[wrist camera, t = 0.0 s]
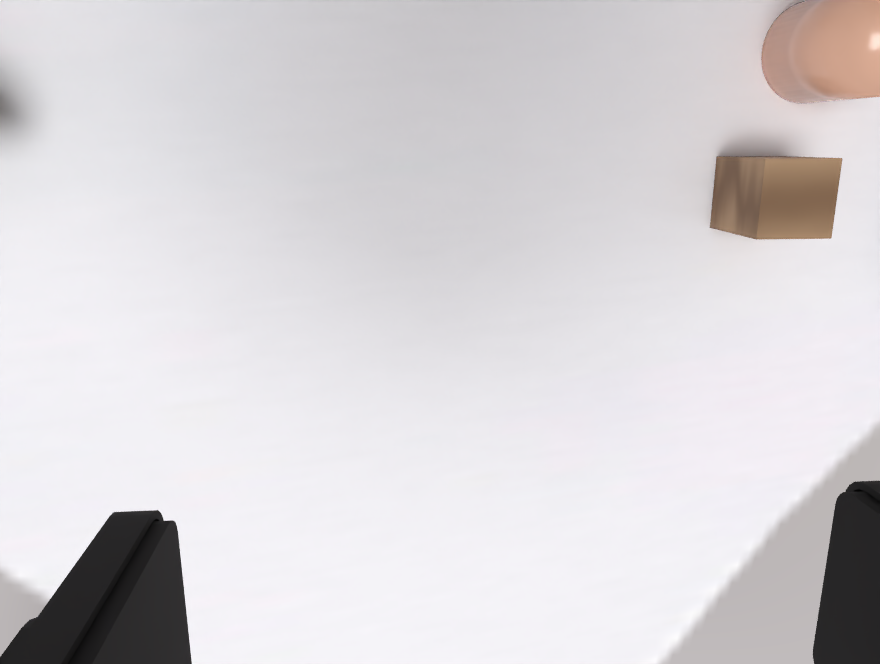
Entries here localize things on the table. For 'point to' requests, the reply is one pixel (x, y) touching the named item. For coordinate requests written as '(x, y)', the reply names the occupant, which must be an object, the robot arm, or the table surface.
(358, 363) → the table surface
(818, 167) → the walnut block
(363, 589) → the table surface
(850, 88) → the peach round domed cylinder
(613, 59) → the table surface
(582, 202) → the table surface
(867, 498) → the robot arm
